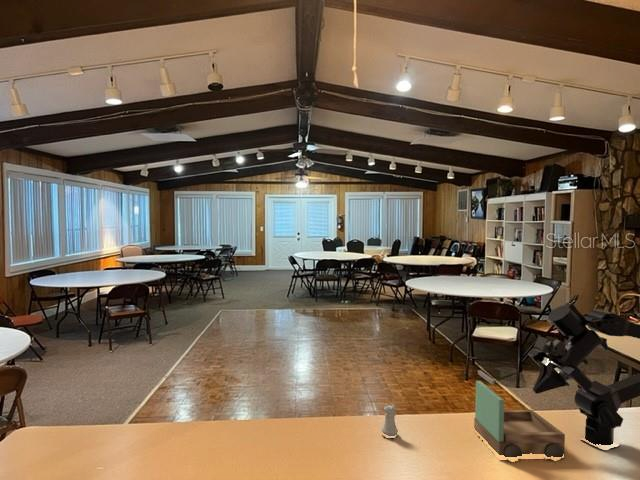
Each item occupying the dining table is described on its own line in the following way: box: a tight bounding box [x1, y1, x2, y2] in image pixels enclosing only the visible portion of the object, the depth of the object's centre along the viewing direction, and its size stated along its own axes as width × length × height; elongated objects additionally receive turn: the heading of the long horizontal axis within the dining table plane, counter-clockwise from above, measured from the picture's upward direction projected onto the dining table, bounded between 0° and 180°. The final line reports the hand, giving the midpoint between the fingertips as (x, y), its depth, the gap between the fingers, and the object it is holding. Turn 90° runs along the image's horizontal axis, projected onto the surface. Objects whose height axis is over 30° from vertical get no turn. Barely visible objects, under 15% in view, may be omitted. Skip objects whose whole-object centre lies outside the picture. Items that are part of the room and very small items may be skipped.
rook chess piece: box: [381, 403, 399, 436], centre depth 111 cm, size 4×4×8 cm
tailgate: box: [474, 369, 505, 442], centre depth 107 cm, size 2×13×14 cm, turn 3°
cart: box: [473, 409, 566, 457], centre depth 107 cm, size 16×16×6 cm
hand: (534, 392), depth 107 cm, fingers closed
